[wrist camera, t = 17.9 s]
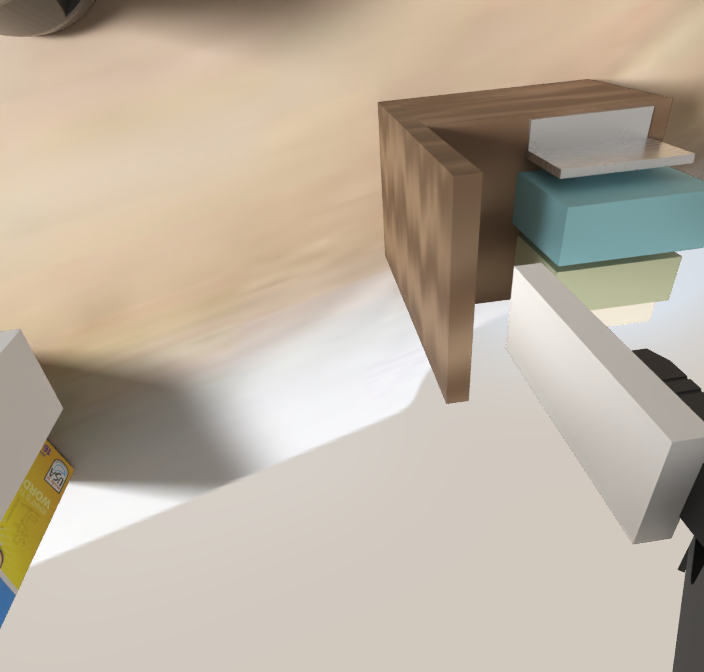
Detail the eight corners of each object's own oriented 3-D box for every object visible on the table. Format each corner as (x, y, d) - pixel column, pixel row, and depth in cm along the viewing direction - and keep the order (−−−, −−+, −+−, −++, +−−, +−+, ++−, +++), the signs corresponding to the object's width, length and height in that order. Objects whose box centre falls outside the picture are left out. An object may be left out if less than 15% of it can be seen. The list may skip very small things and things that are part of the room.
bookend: (529, 118, 35) (566, 135, 31) (651, 105, 36) (705, 119, 31) (525, 158, 37) (559, 179, 32) (642, 144, 37) (692, 163, 33)
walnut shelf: (377, 102, 45) (453, 176, 25) (588, 79, 46) (824, 132, 26) (385, 255, 53) (446, 403, 33) (563, 233, 54) (726, 364, 34)
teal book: (517, 172, 37) (567, 207, 31) (645, 157, 38) (722, 188, 31) (512, 223, 40) (558, 266, 33) (633, 208, 40) (703, 247, 33)
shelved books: (517, 234, 40) (557, 272, 34) (625, 221, 41) (682, 256, 35) (510, 298, 43) (545, 342, 38) (610, 285, 44) (660, 327, 38)
